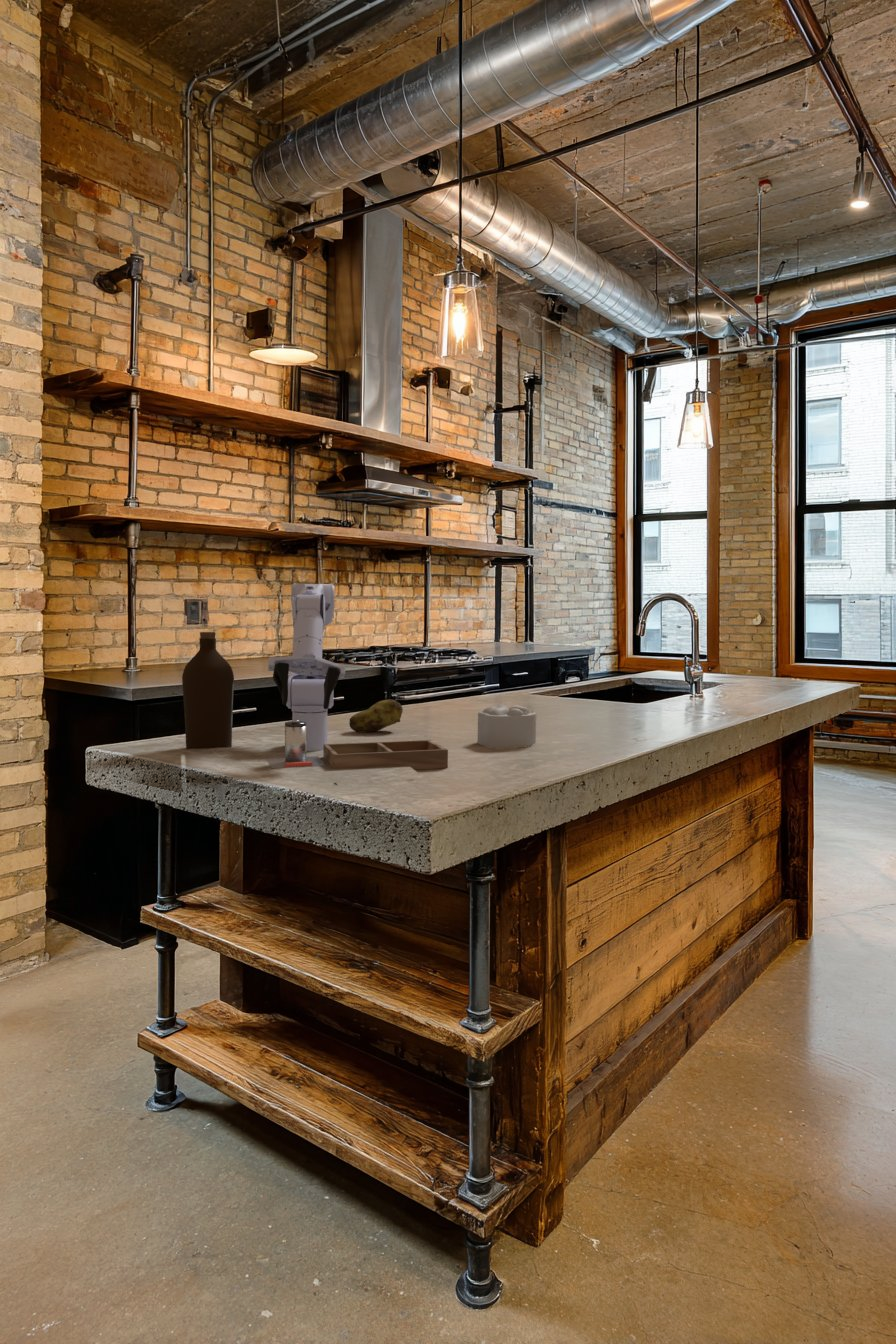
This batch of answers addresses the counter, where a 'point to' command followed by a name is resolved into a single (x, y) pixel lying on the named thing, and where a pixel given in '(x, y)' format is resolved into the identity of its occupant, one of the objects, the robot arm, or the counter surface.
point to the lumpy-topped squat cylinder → (506, 727)
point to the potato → (377, 716)
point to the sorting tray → (387, 754)
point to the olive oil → (208, 697)
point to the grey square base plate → (281, 762)
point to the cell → (295, 741)
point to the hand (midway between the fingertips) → (305, 704)
